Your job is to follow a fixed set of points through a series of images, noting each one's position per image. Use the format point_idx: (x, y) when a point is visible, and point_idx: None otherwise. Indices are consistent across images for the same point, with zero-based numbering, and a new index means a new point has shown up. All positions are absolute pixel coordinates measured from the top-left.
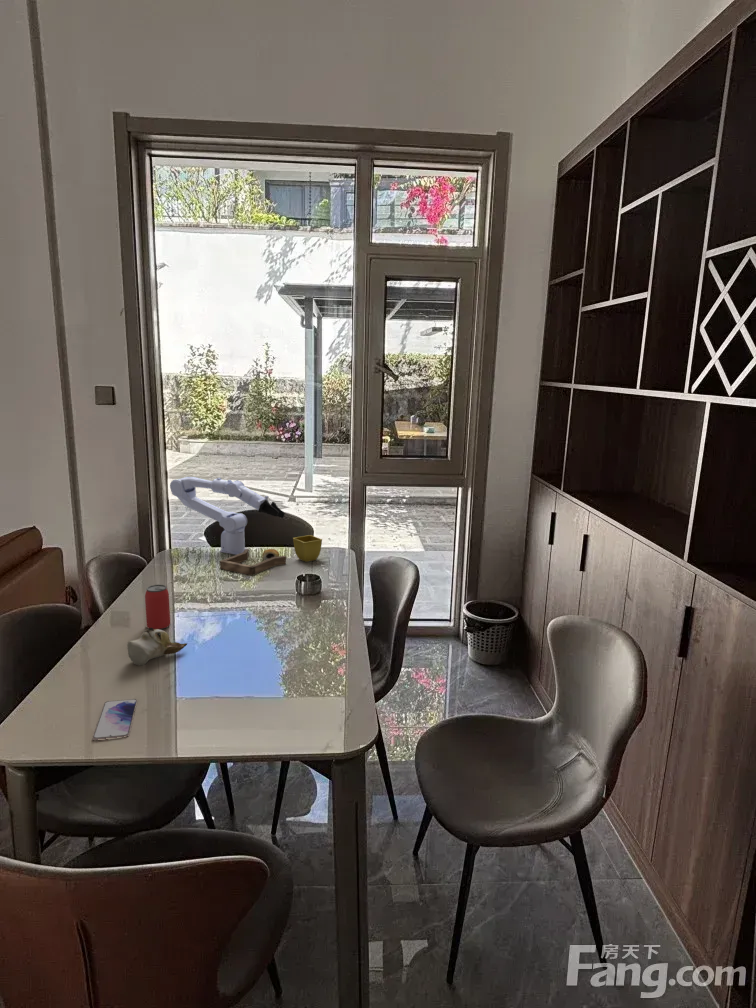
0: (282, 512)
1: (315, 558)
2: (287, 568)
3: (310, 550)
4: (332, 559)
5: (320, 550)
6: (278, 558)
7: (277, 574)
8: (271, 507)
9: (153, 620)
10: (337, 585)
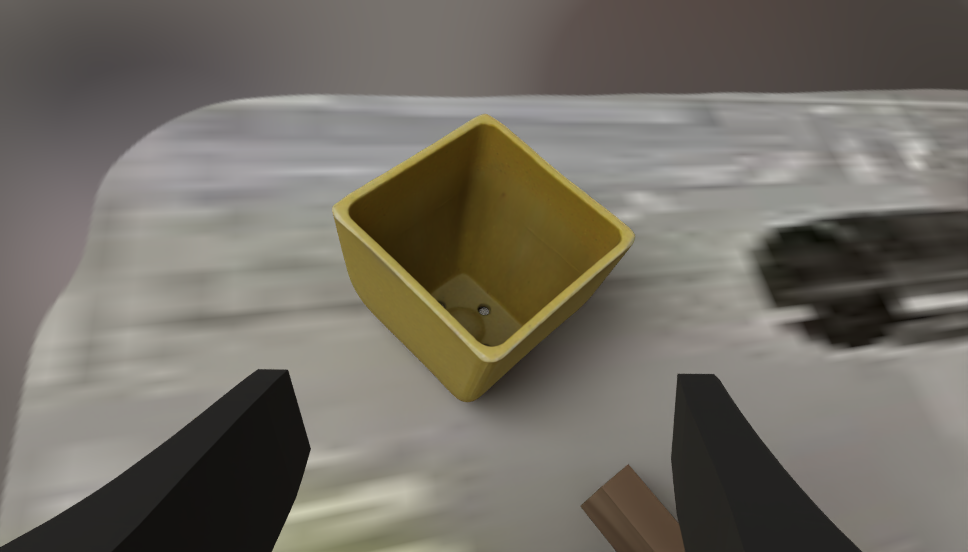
0: (264, 408)
1: (477, 263)
2: None
3: (553, 245)
4: None
5: (474, 192)
6: (679, 528)
7: (863, 496)
8: (813, 527)
9: None
10: (867, 145)
